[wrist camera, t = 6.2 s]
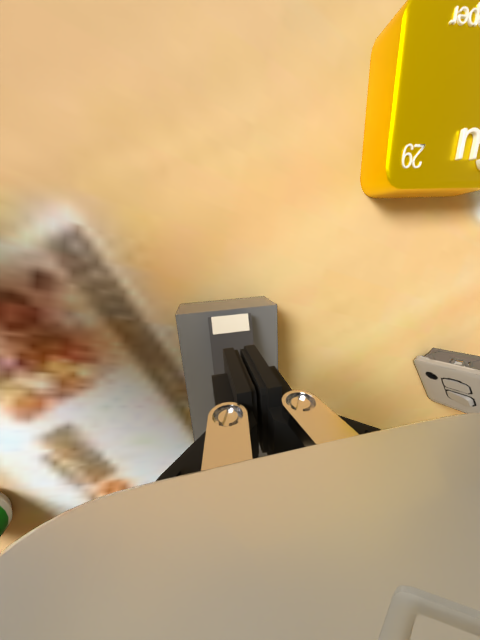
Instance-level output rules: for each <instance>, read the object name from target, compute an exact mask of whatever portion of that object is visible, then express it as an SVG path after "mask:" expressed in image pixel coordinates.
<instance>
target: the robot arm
mask: <svg viewBox="0 0 480 640" xmlns="http://www.w3.org/2000/svg"><path fill="white" fill-rule="evenodd" d="M223 360H224V371H225V373H224V374H217V375H211V376H212V385H213V394H214V402H215V407H214V408H212V410H211V411H210V412H209V415H208V420H207V428H206V431H205V432H204V433H203V434H202V435H201V436H200V437H199V438H198V439H197V440H196V441H195V442H194V443H193V444H192V445H191V446H190V447H189V448H188V449H187V450H186V451H185V452H184V453H183V454H182V455H181V456H180V457H179V458H178V459H177V460H176V461H175V462H174V463H173V464H172V465H171V466H170V467H169V468H168V469H167V470H166V471H165V472H164V473H163V474H162V475H161V476H160V477H159V478H158V479H157V480H156V481H155V482H151V483H148V484H144V485H140V486H136V487H132V488H129V489H125V490H121V491H117V492H114V493H111V494H108V495H105V496H102V497H99V498H96V499H93V500H91V501H88V502H86V503H84V504H81V505H79V506H77V507H75V508H72V509H70V510H68V511H65V512H64V513H62V514H60V515H58V516H56V517H54V518H53V519H51V520H49V521H47V522H45V523H43V524H42V525H40V526H38V527H36V528H35V529H33V530H32V531H30V532H28V533H27V534H25V535H24V536H22V537H21V538H19V539H18V540H16V541H15V542H14V543H12V544H11V545H9V546H8V547H6V548H5V549H4V550H3V551H2V552H1V553H0V640H480V413H470V414H460V415H453V416H447V417H441V418H436V419H430V420H425V421H421V422H416V423H411V424H407V425H402V426H398V427H393V428H389V429H384V430H380V429H378V428H375V427H372V426H369V425H366V424H363V423H360V422H357V421H354V420H351V419H348V418H345V417H342V416H339V415H337V414H336V413H335V412H333V411H332V410H331V409H330V408H329V407H328V406H327V405H326V404H324V403H323V402H322V401H321V400H320V399H319V398H318V397H316V396H315V395H314V394H312V393H310V392H307V391H303V390H293V391H292V389H291V388H290V387H289V385H288V384H287V382H286V381H285V380H284V378H283V377H282V375H281V374H280V373H279V371H278V370H277V368H276V367H275V366H268V364H267V363H266V361H265V360H264V358H263V357H262V355H261V354H260V352H259V351H258V349H257V348H256V346H255V345H247V346H244V349H240V354H239V352H238V350H234V348H233V347H232V348H225V349H223ZM259 445H260V448H261V451H262V453H267V455H268V456H263V457H259V458H258V454H259Z"/></svg>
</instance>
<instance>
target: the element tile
mask: <svg viewBox="0 0 480 640" xmlns="http://www.w3.org/2000/svg"><path fill="white" fill-rule="evenodd" d="M360 182H361V187H362V190H363V192H364V193H365V194H366V195H367V196H369V197H371V198H406V197H447V196H456V195H461V194H465V193H469V192H473V191H478V190H480V0H407V1H406V3H405V4H404V5H403V6H402V8H401V9H400V10H399V11H398V13H397V14H396V15H395V16H394V18H393V19H392V20H391V21H390V23H389V24H388V25H387V26H386V27H385V29H384V30H383V31H382V32H381V34H380V35H379V36H378V37H377V39H376V41H375V43H374V46H373V48H372V53H371V60H370V72H369V84H368V95H367V107H366V118H365V130H364V141H363V153H362V164H361V176H360Z"/></svg>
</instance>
